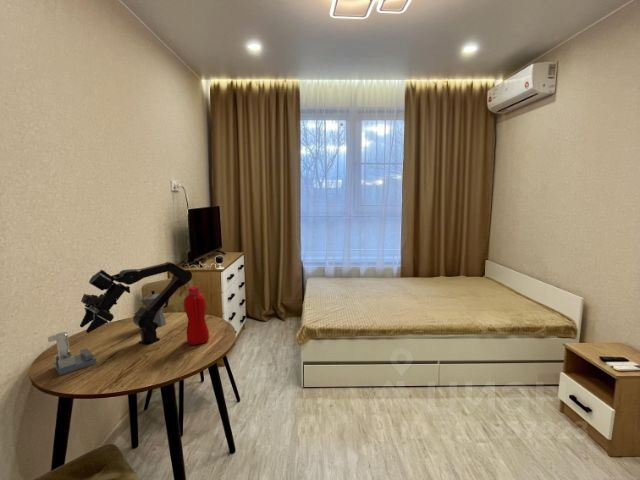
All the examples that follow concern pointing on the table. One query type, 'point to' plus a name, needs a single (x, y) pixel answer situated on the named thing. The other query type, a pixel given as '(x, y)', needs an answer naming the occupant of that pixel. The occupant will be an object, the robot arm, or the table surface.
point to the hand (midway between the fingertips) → (83, 329)
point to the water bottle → (196, 317)
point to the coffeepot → (159, 315)
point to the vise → (74, 362)
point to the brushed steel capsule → (61, 344)
